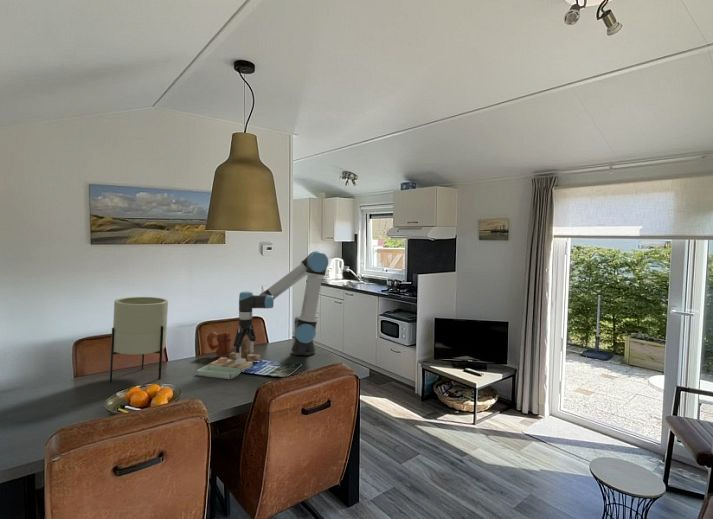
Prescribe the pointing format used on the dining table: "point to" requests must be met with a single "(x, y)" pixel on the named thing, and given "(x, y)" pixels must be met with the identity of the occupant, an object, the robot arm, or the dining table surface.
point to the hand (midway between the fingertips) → (244, 355)
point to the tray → (218, 372)
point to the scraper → (245, 352)
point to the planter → (139, 327)
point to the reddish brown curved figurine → (220, 343)
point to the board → (233, 364)
